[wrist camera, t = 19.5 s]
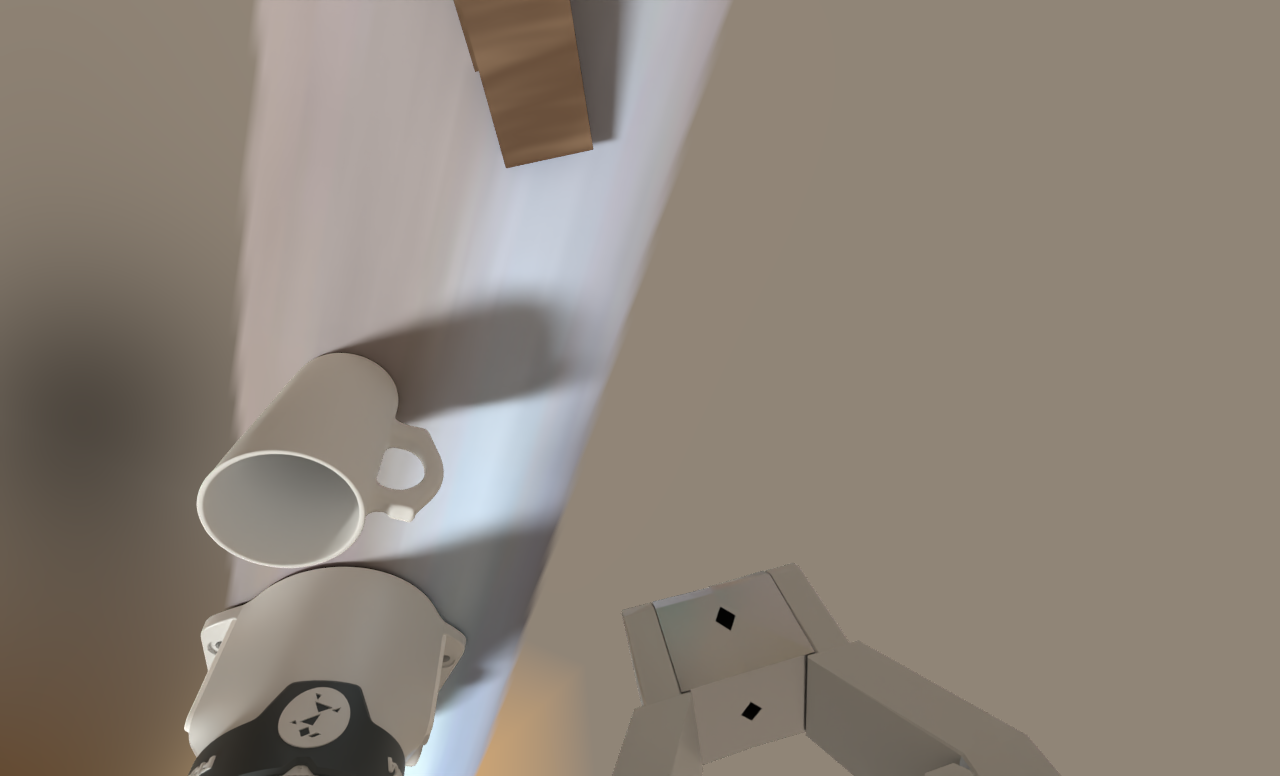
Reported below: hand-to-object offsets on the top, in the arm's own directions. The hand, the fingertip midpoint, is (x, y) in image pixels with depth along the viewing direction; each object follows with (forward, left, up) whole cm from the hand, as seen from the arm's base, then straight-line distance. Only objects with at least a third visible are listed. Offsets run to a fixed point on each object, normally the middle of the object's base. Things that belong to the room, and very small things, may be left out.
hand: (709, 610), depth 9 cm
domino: (+5, +2, -28) cm, 29 cm away
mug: (-14, +8, -29) cm, 33 cm away
